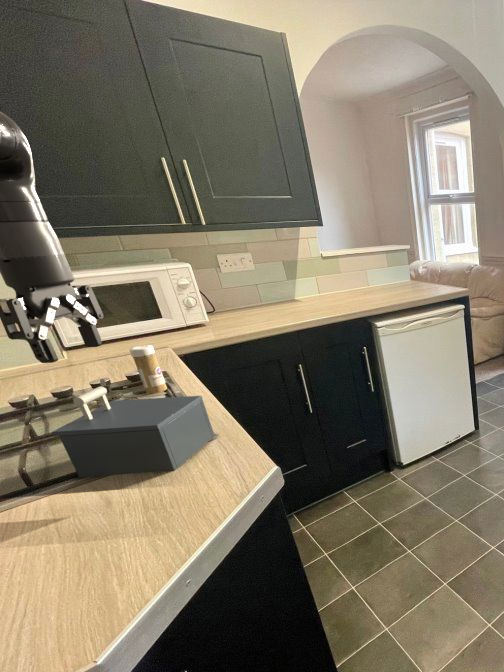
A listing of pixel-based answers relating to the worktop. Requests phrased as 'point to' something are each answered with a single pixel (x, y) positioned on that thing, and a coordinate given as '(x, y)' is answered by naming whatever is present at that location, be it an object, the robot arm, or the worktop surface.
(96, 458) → the storage box
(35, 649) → the worktop surface
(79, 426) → the lid
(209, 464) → the worktop surface
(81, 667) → the worktop surface
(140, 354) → the sprinkles bottle
